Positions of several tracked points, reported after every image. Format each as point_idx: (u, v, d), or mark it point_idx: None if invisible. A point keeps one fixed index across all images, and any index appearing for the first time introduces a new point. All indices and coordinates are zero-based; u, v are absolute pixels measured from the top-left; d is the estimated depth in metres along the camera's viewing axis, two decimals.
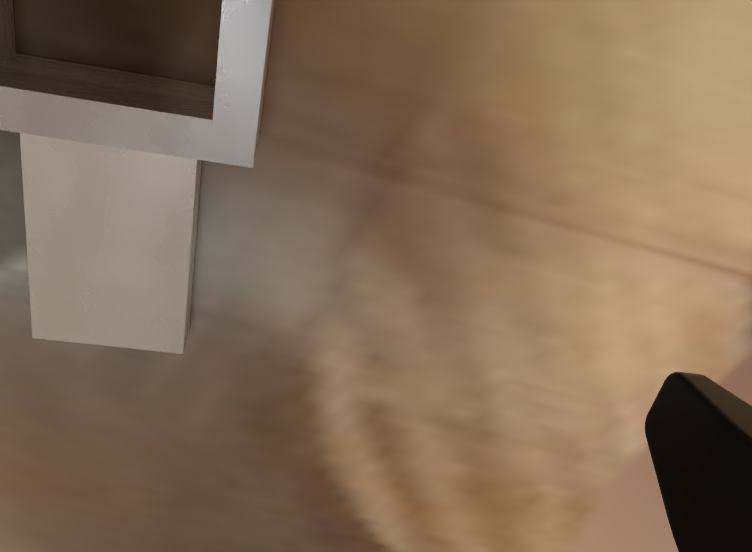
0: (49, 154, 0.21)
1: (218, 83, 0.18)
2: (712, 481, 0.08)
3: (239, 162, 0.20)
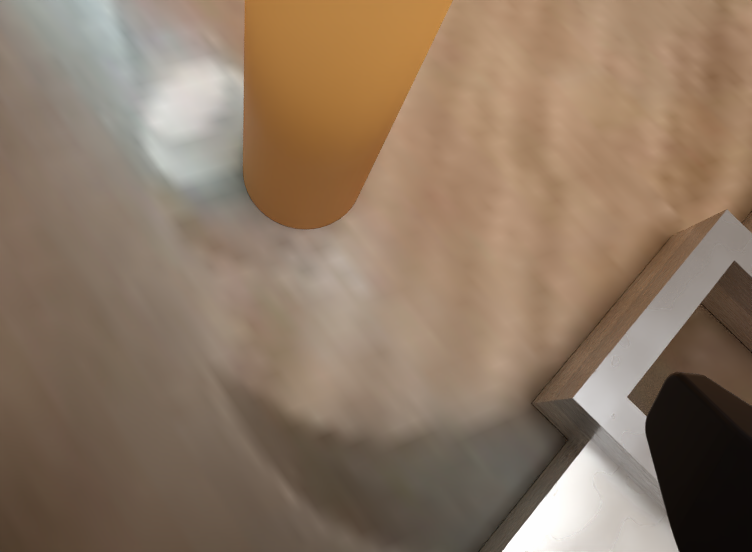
0: (586, 486, 0.21)
1: None
2: (712, 481, 0.08)
3: None
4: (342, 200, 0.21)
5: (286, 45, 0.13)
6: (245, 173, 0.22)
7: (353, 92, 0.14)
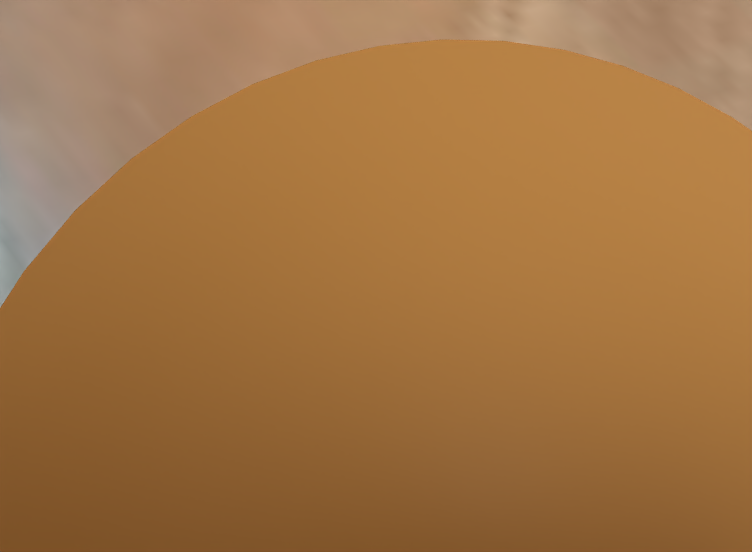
0: None
1: None
2: None
3: None
4: None
5: None
6: None
7: None
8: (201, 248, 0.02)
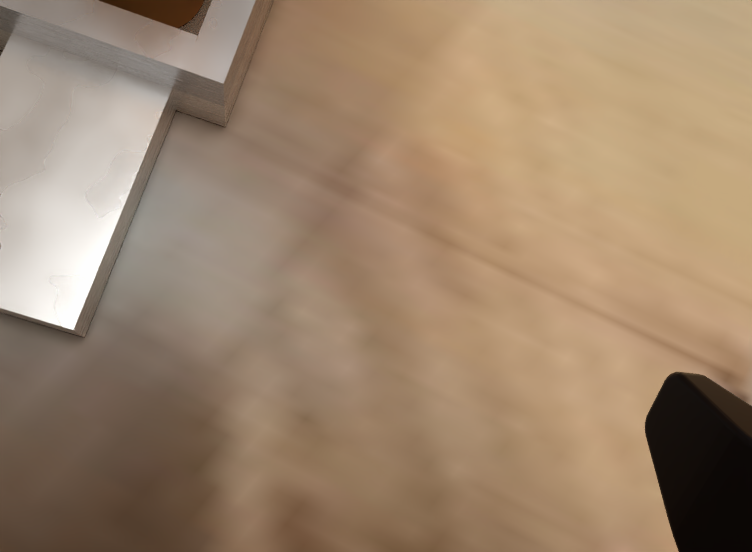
0: (22, 74, 0.21)
1: (211, 8, 0.21)
2: (712, 481, 0.08)
3: (212, 76, 0.21)
4: None
5: None
6: None
7: None
8: None
